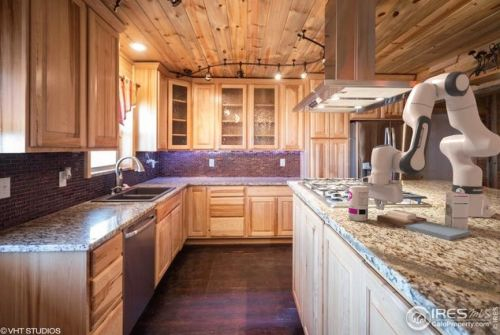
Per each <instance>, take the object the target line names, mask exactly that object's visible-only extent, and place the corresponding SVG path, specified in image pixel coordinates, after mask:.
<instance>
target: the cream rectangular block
mask: <svg viewBox="0 0 500 335" xmlns="http://www.w3.org/2000/svg"><path fill="white" fill-rule="evenodd" d="M386 214H387V216H391V217H396V218H400V219H404V220H411V219H416V216H417V213H414V212H409V211H404V210H400V209H391V210H387V212H386Z"/></svg>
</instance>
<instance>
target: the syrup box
mask: <svg viewBox="0 0 500 335" xmlns="http://www.w3.org/2000/svg"><path fill="white" fill-rule="evenodd" d="M468 204H469V194H465V193H462V192H452V191H446V192H445V208H444V209H445V210H444V211H445V213H444V214H445V215H444V225H447V226H451V227H456V228H460V229H465V230H468V228H469V226H468V225H469V216H468Z"/></svg>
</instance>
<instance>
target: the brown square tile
mask: <svg viewBox="0 0 500 335" xmlns="http://www.w3.org/2000/svg"><path fill="white" fill-rule="evenodd" d="M424 221H428V219H427V218H425V217H421V216H417V215H416V219H411V220H404V219H400V218H396V217H391V216H387V213H385V214H379V215H377V216H376V222H379V223H383V224H385V225H386V224H387V225H390V226H394V227H397V228H401V229H405V225H408V224H413V223H418V222H424Z"/></svg>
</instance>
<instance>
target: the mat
mask: <svg viewBox="0 0 500 335" xmlns="http://www.w3.org/2000/svg"><path fill="white" fill-rule="evenodd" d="M404 229H406V230H409V231H413V232H417V233H420V234H424V235H428V236H432V237H434V238H438V239H441V240H442V239H443V240H446V241H449V240H450V241H453V239H454V240H457V239H460V238H466V237H468V236H471V235H472V230H465V229H460V228H456V227H451V226H447V225H445V224H443V223H442V224H441V223H437V222H433V221H429V220H427V221H424V222H418V223H413V224H408V225H405V228H404Z"/></svg>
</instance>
